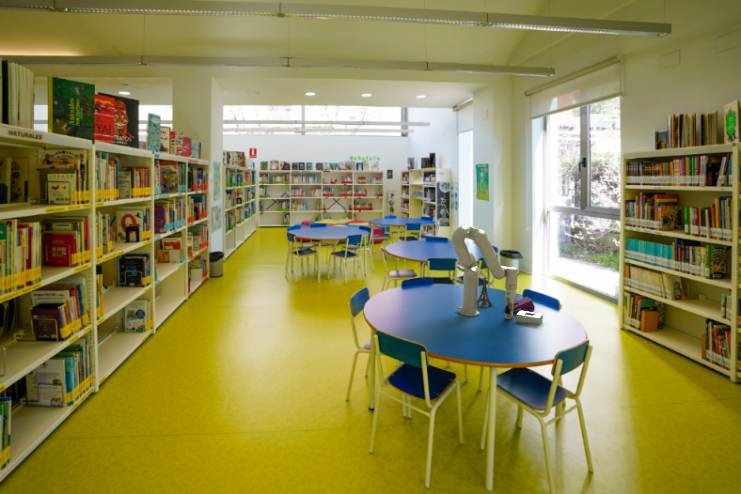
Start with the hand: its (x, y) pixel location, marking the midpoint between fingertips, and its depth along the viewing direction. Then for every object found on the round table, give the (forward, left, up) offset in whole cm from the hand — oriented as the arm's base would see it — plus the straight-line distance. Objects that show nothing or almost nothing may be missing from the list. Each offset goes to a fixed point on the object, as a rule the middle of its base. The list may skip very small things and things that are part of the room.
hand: (509, 312), depth 293 cm
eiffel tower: (-24, +19, -4) cm, 31 cm away
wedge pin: (0, 0, -4) cm, 4 cm away
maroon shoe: (+1, +19, -5) cm, 19 cm away
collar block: (+13, 0, -4) cm, 14 cm away
